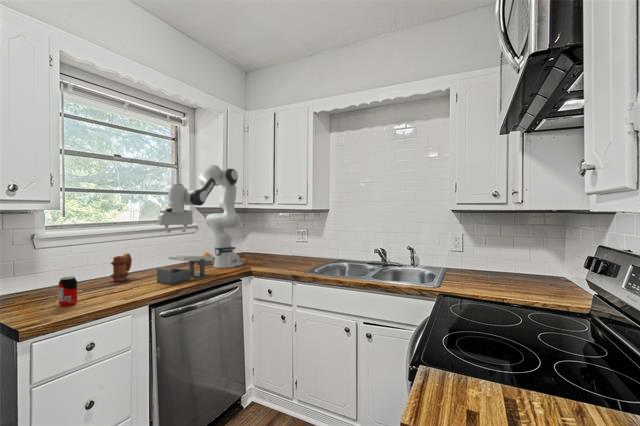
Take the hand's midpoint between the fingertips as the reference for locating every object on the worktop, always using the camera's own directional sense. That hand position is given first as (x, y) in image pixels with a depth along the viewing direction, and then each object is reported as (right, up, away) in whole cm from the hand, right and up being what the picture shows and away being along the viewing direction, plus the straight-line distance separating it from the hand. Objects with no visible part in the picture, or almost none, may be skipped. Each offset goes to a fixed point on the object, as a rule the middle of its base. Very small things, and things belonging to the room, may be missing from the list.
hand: (176, 232), depth 193 cm
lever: (+7, -20, +4) cm, 22 cm away
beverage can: (-23, -29, -54) cm, 66 cm away
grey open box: (+3, -28, -10) cm, 30 cm away
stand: (+11, -28, +3) cm, 30 cm away
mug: (-29, -28, -5) cm, 41 cm away
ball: (+15, -16, +10) cm, 24 cm away
